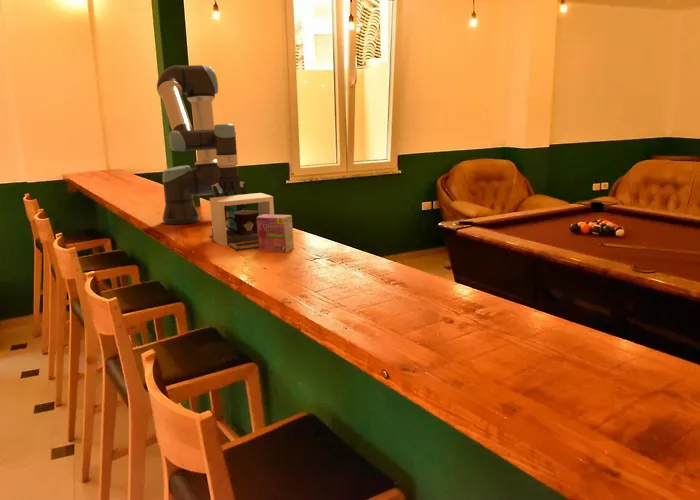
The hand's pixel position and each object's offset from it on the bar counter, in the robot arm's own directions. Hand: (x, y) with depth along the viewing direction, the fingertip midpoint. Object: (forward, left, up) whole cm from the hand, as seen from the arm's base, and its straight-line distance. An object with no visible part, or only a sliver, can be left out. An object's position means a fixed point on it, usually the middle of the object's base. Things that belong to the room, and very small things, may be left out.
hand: (232, 228), depth 213 cm
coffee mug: (+13, 0, -2) cm, 13 cm away
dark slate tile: (+25, 0, -2) cm, 25 cm away
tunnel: (+13, 0, -2) cm, 13 cm away
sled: (+8, 0, -2) cm, 8 cm away
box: (+34, +4, -3) cm, 34 cm away
